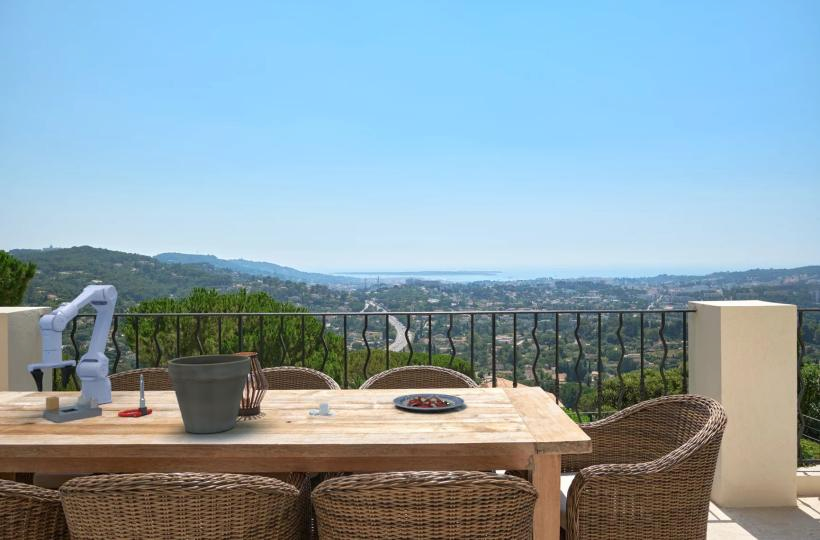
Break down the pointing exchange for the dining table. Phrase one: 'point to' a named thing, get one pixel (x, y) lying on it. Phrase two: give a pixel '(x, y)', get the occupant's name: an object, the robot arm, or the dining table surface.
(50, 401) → the tan rectangular block
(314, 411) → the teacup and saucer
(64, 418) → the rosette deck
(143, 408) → the tow hook
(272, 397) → the dining table surface
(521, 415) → the dining table surface
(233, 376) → the plant pot
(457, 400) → the ceramic plate
